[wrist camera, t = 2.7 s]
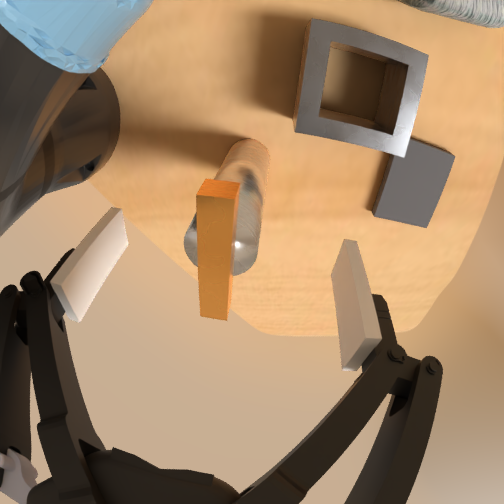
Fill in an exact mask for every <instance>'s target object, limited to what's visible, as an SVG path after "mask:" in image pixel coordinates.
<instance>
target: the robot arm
mask: <svg viewBox="0 0 504 504" xmlns="http://www.w3.org/2000/svg"><path fill="white" fill-rule="evenodd" d="M153 1H154V0H0V236H2V235H3V233H4V232H5V231H6V230H7V229H8V228H9V227H10V226H11V225H12V224H13V223H14V222H15V221H16V220H17V219H18V218H19V217H20V216H21V215H23V214H24V213H25V212H26V211H27V210H28V209H29V208H30V207H31V206H32V205H33V204H34V203H35V202H36V201H38V200H39V199H40V198H41V197H42V196H44V195H45V194H47V193H50V192H53V191H57V190H60V189H63V188H67V187H70V186H73V185H77V184H79V183H82V182H83V181H85V180H87V179H89V178H90V177H91V176H92V175H94V174H95V173H96V172H97V171H99V170H100V169H101V168H102V167H103V166H104V165H105V164H106V163H107V161H108V160H109V158H110V157H111V155H112V153H113V151H114V149H115V146H116V143H117V140H118V136H119V129H120V109H119V103H118V98H117V95H116V92H115V89H114V87H113V85H112V83H111V81H110V79H109V77H108V76H107V75H106V73H105V72H104V71H103V70H102V69H101V68H100V66H101V65H102V64H104V63H105V61H106V60H107V58H108V56H109V52H110V50H111V49H112V47H113V46H114V45H115V44H116V43H117V42H118V40H119V39H120V38H121V37H122V36H123V35H124V34H125V33H126V32H127V30H128V29H129V28H130V27H131V26H132V25H133V24H134V23H135V22H136V21H137V20H138V19H139V18H140V17H141V16H142V15H143V14H144V13H145V12H146V11H147V10H148V8H149V7H150V5H151V4H152V2H153ZM127 246H128V240H127V235H126V230H125V225H124V219H123V213H122V208H111V209H110V210H109V211H108V212H107V213H106V214H105V215H104V216H103V217H102V218H101V219H100V221H99V222H98V223H97V224H96V225H95V226H94V227H93V228H92V230H91V231H90V232H89V233H88V234H87V235H86V237H85V238H84V239H83V240H82V241H81V243H80V244H79V245H78V246H77V247H76V249H74V248H72V249H71V250H69V251H68V252H67V253H65V254H64V256H63V257H62V258H61V259H60V261H59V262H58V263H57V264H56V266H55V267H54V268H53V270H52V271H51V272H50V273H49V275H48V276H47V277H46V279H45V280H44V281H43V279H42V277H41V275H40V273H39V272H38V271H31V272H29V273H27V274H25V275H24V276H23V277H22V279H21V281H20V286H21V287H22V289H23V291H18V289H17V287H16V286H15V285H8V286H6V287H5V288H4V289H3V290H2V291H1V293H0V491H2V492H3V493H4V494H6V495H7V496H9V497H10V498H12V499H13V500H15V501H16V502H18V503H19V504H299V503H300V502H301V501H302V500H303V499H304V497H305V496H306V494H307V492H308V490H309V489H310V488H311V487H312V486H313V485H314V484H315V483H316V482H317V481H318V480H319V479H320V478H321V477H322V476H323V475H324V474H325V473H326V472H327V471H328V469H329V468H330V467H331V466H332V465H333V464H334V463H335V462H336V461H337V460H338V458H339V457H340V456H341V455H342V454H343V453H344V451H345V450H346V449H347V448H348V447H349V445H350V444H351V443H352V442H353V440H354V439H355V438H356V437H357V435H358V434H359V433H360V432H361V430H362V429H363V428H364V426H365V425H366V424H367V422H368V421H369V420H370V418H371V417H372V415H373V414H374V413H375V411H376V410H377V408H378V407H379V405H380V403H382V401H383V399H384V398H385V397H386V395H387V394H388V393H389V394H392V396H391V400H390V402H389V405H388V408H387V411H386V414H385V417H384V419H383V422H382V425H381V427H380V430H379V433H378V435H377V437H376V440H375V442H374V445H373V447H372V449H371V452H370V454H369V456H368V458H367V460H366V463H365V465H364V467H363V469H362V471H361V473H360V475H359V477H358V479H357V481H356V483H355V485H354V487H353V489H352V491H351V492H350V494H349V496H348V498H347V500H346V502H345V503H344V504H406V502H407V500H408V497H409V495H410V492H411V490H412V487H413V485H414V482H415V480H416V477H417V474H418V472H419V469H420V466H421V463H422V459H423V457H424V454H425V450H426V447H427V443H428V440H429V437H430V433H431V429H432V425H433V421H434V416H435V412H436V408H437V403H438V398H439V393H440V387H441V380H442V374H443V368H442V365H441V363H440V362H439V360H438V359H436V358H435V357H433V356H426V357H425V358H423V359H422V360H418V359H415V358H412V357H409V356H407V354H406V352H405V350H404V349H403V348H402V347H401V346H400V345H398V344H397V340H396V336H395V332H394V328H393V324H392V320H391V316H390V313H389V309H388V305H387V302H386V301H385V300H384V298H383V297H382V295H377V294H371V290H370V286H369V282H368V279H367V275H366V271H365V268H364V264H363V261H362V257H361V254H360V251H359V248H358V244H357V241H353V240H347V239H344V241H343V244H342V246H341V249H340V252H339V255H338V258H337V260H336V263H335V266H334V268H333V271H332V274H331V278H332V285H333V292H334V299H335V307H336V315H337V324H338V333H339V342H340V353H341V364H342V370H344V371H357V370H358V369H359V367H360V366H361V365H362V374H361V375H360V376H359V377H358V378H357V379H356V380H355V381H354V384H353V385H352V386H351V387H350V388H349V390H348V391H347V392H346V393H345V394H344V396H343V397H342V398H341V399H340V401H339V402H338V403H337V404H336V405H335V406H334V407H333V409H331V411H330V412H329V413H328V414H327V415H326V416H325V417H324V418H323V419H322V420H321V422H320V423H319V424H318V425H317V426H316V427H315V428H314V429H313V430H312V431H311V432H310V433H309V434H308V435H307V436H306V437H305V438H304V439H303V440H302V441H301V442H300V443H299V444H298V445H297V446H296V447H295V448H294V449H293V450H292V451H291V452H290V453H288V454H287V455H286V456H285V457H284V458H283V459H282V460H281V461H280V462H279V463H277V465H275V466H274V467H273V468H272V469H271V470H269V471H268V472H267V473H266V474H265V475H263V476H262V477H261V478H259V479H258V480H257V481H255V482H254V483H253V484H252V485H250V486H249V487H248V488H247V489H245V490H244V491H243V492H241V493H240V494H239V493H238V492H237V491H236V490H235V489H234V488H233V487H232V486H230V485H229V484H227V483H226V482H224V481H222V480H220V479H218V478H216V477H214V475H212V474H207V473H201V472H196V471H192V470H177V469H176V470H175V469H159V468H158V467H156V466H154V465H152V464H150V463H149V462H147V461H145V460H143V459H141V458H139V457H137V456H136V455H133V454H130V453H128V452H125V451H122V450H119V449H117V448H114V447H113V449H112V450H106V449H105V447H104V445H103V443H102V441H101V440H100V438H99V437H98V436H97V434H96V433H95V430H94V428H93V426H92V423H91V420H90V417H89V414H88V412H87V409H86V406H85V403H84V400H83V397H82V393H81V390H80V387H79V383H78V379H77V376H76V372H75V368H74V364H73V361H72V356H71V351H70V347H69V342H68V337H67V332H66V327H65V321H64V319H63V315H64V313H65V312H66V314H67V316H68V318H69V319H71V320H74V321H77V322H79V323H80V322H81V320H82V318H83V316H84V315H85V313H86V311H87V309H88V308H89V306H90V304H91V303H92V301H93V299H94V297H95V296H96V294H97V292H98V291H99V289H100V288H101V286H102V284H103V283H104V281H105V280H106V278H107V276H108V275H109V273H110V272H111V270H112V269H113V267H114V265H115V264H116V262H117V261H118V259H119V258H120V256H121V255H122V253H123V252H124V250H125V249H126V247H127ZM31 372H32V379H33V384H34V390H35V395H36V400H37V405H38V409H39V414H40V419H41V420H40V423H38V424H37V431H38V435H39V439H40V442H41V445H42V448H43V452H44V455H45V458H46V461H47V464H48V467H49V469H50V472H51V475H52V477H51V478H48V479H47V480H45V481H43V482H41V483H39V484H37V483H36V481H35V479H36V478H37V475H38V473H37V470H36V469H35V468H34V467H33V466H32V464H31V431H30V378H31V377H30V376H31Z"/></svg>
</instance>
